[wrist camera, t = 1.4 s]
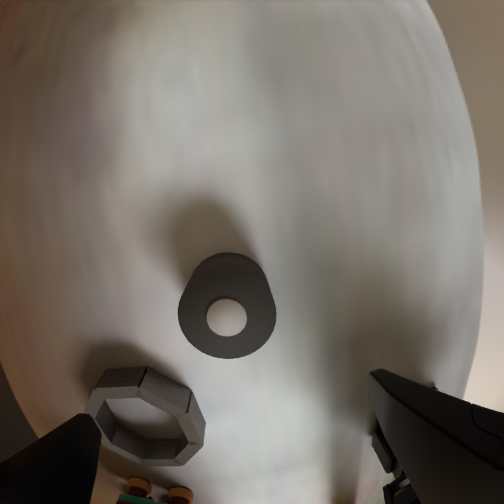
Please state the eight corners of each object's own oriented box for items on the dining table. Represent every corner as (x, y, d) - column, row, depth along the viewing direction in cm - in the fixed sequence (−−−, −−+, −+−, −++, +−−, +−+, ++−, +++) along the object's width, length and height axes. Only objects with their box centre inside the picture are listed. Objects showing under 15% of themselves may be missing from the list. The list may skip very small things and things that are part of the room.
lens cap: (260, 244, 18) (266, 260, 14) (274, 318, 19) (284, 350, 15) (180, 261, 18) (165, 281, 14) (200, 332, 19) (192, 367, 15)
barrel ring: (181, 362, 19) (175, 382, 17) (214, 443, 21) (213, 464, 19) (80, 371, 19) (67, 388, 17) (124, 446, 21) (117, 464, 19)
